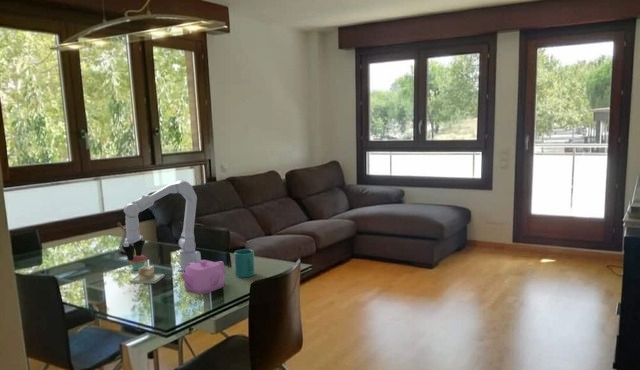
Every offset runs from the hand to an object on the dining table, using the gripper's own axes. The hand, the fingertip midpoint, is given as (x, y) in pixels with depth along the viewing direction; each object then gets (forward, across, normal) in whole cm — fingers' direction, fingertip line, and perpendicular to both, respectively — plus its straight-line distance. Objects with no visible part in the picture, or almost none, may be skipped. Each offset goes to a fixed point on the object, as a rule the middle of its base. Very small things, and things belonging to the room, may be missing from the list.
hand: (134, 258), depth 220 cm
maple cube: (+9, +3, +7) cm, 11 cm away
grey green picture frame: (+9, +3, +7) cm, 12 cm away
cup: (+10, -4, +52) cm, 53 cm away
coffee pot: (+10, -50, -31) cm, 60 cm away
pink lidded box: (+10, +14, +38) cm, 42 cm away
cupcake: (+10, -14, -6) cm, 18 cm away
